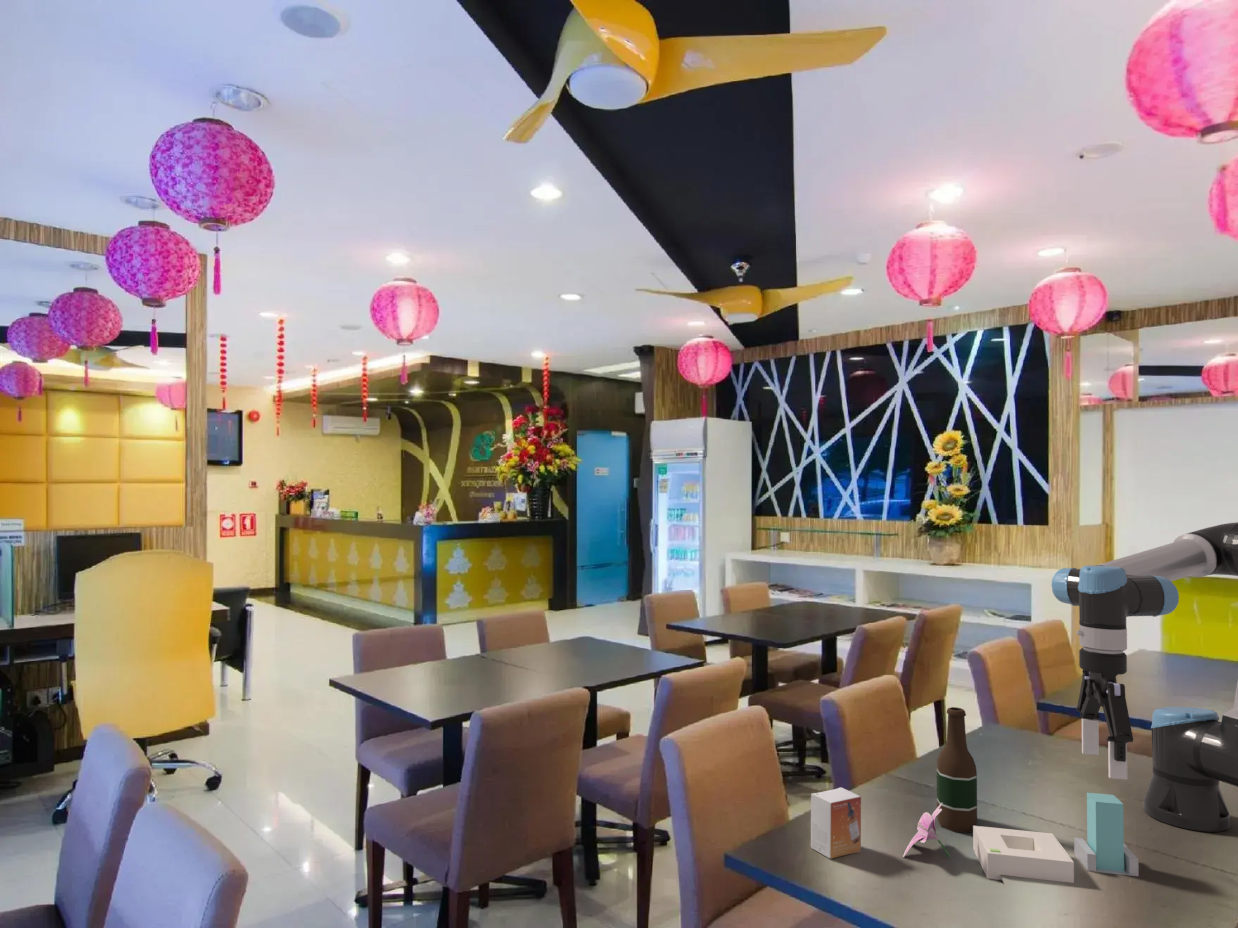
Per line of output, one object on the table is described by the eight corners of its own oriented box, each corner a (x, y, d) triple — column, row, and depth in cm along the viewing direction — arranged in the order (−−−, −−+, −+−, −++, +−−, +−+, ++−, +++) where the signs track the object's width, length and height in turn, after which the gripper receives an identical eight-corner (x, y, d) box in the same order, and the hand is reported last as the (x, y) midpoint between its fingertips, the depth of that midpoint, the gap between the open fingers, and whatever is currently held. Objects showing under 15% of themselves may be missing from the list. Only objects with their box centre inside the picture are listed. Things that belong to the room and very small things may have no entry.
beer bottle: (974, 836, 157) (973, 716, 158) (933, 827, 162) (932, 710, 162) (979, 823, 164) (979, 707, 165) (940, 814, 168) (939, 701, 169)
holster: (1122, 863, 146) (1122, 842, 147) (1138, 881, 140) (1138, 858, 140) (1074, 858, 148) (1074, 837, 148) (1087, 876, 141) (1087, 853, 142)
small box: (830, 860, 147) (830, 803, 147) (809, 847, 152) (810, 792, 152) (862, 851, 150) (862, 795, 151) (841, 840, 155) (841, 786, 156)
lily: (930, 841, 157) (905, 797, 159) (982, 838, 149) (955, 791, 150) (903, 879, 149) (877, 832, 151) (956, 877, 141) (928, 827, 142)
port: (1052, 857, 149) (1052, 832, 149) (1074, 888, 137) (1073, 860, 137) (973, 848, 152) (973, 824, 152) (987, 878, 140) (987, 851, 140)
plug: (1114, 860, 146) (1113, 794, 146) (1124, 871, 141) (1123, 803, 142) (1087, 857, 147) (1086, 792, 147) (1096, 868, 142) (1095, 801, 143)
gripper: (1058, 636, 158) (1059, 743, 158) (1105, 661, 134) (1106, 787, 133) (1100, 639, 157) (1101, 746, 156) (1154, 664, 133) (1156, 792, 132)
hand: (1103, 765), depth 145 cm, fingers open, 13 cm apart
